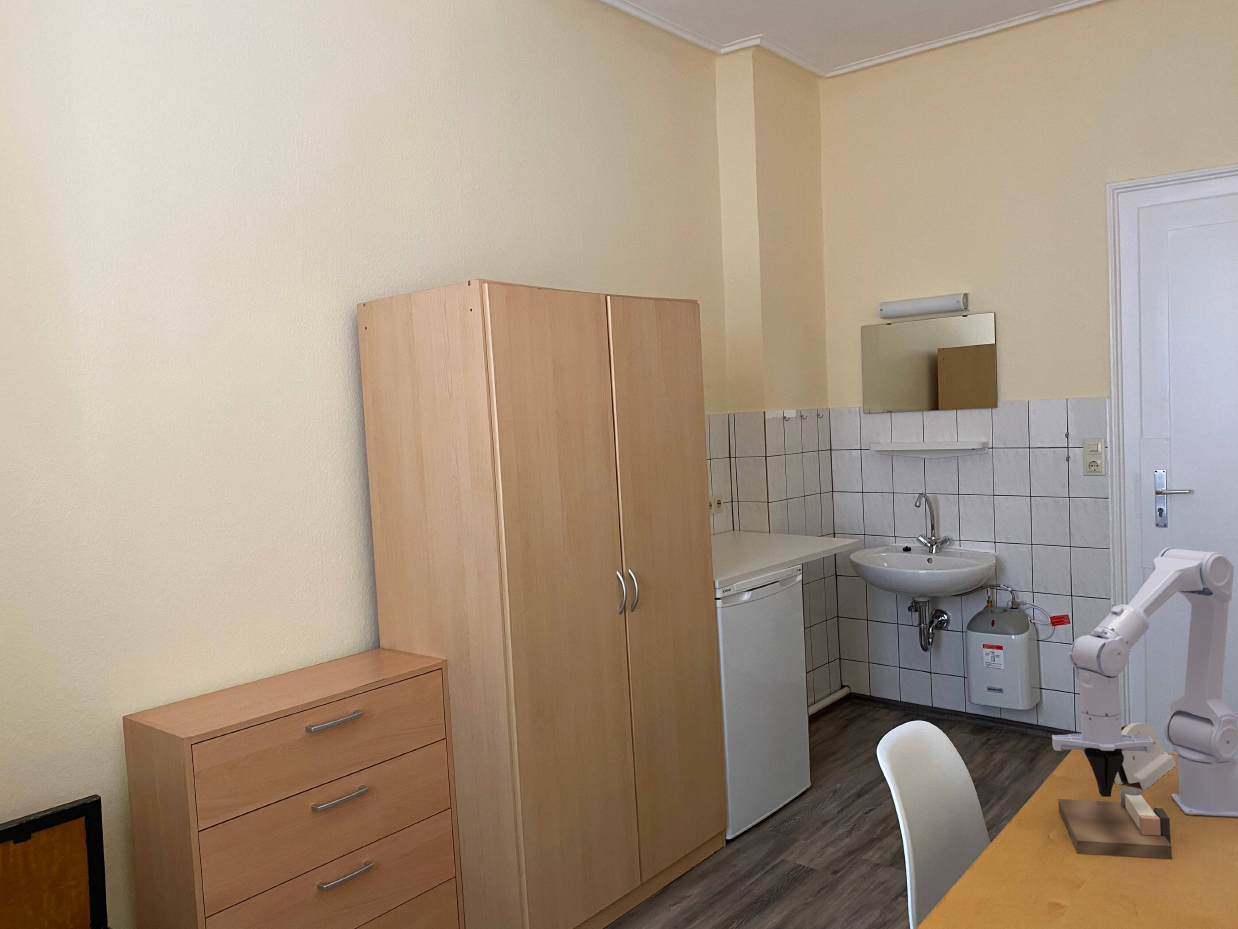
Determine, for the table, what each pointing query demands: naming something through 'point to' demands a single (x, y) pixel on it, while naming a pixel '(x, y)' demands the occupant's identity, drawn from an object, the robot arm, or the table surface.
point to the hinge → (1143, 759)
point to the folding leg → (1140, 811)
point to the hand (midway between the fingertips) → (1104, 794)
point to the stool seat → (1112, 830)
